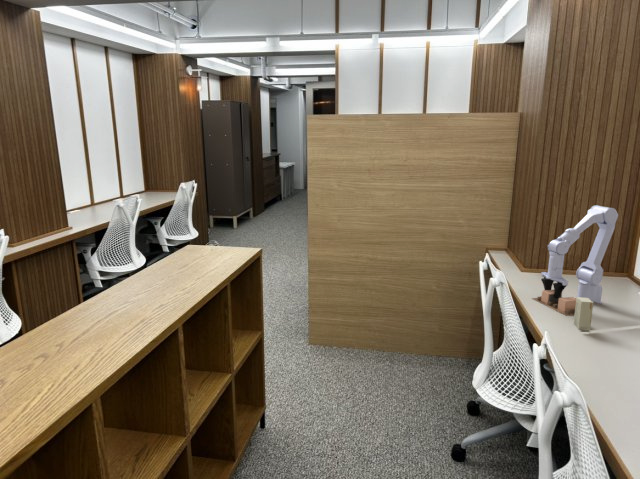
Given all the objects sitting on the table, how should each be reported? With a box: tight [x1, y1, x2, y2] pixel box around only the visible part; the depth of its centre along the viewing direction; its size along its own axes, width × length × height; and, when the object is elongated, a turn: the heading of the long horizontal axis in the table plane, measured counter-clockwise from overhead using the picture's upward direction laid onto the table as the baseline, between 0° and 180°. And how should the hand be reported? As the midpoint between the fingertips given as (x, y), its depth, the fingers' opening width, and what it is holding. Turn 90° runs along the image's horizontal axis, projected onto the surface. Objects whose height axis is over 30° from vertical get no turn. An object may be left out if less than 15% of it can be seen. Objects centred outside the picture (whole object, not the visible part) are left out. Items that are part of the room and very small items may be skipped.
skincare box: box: [573, 296, 594, 333], centre depth 183 cm, size 6×4×12 cm
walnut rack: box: [531, 295, 575, 317], centre depth 207 cm, size 13×22×2 cm, turn 14°
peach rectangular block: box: [541, 289, 563, 304], centre depth 211 cm, size 5×7×5 cm, turn 105°
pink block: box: [558, 296, 577, 312], centre depth 202 cm, size 7×5×5 cm, turn 104°
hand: (552, 296), depth 211 cm, fingers open, 5 cm apart
